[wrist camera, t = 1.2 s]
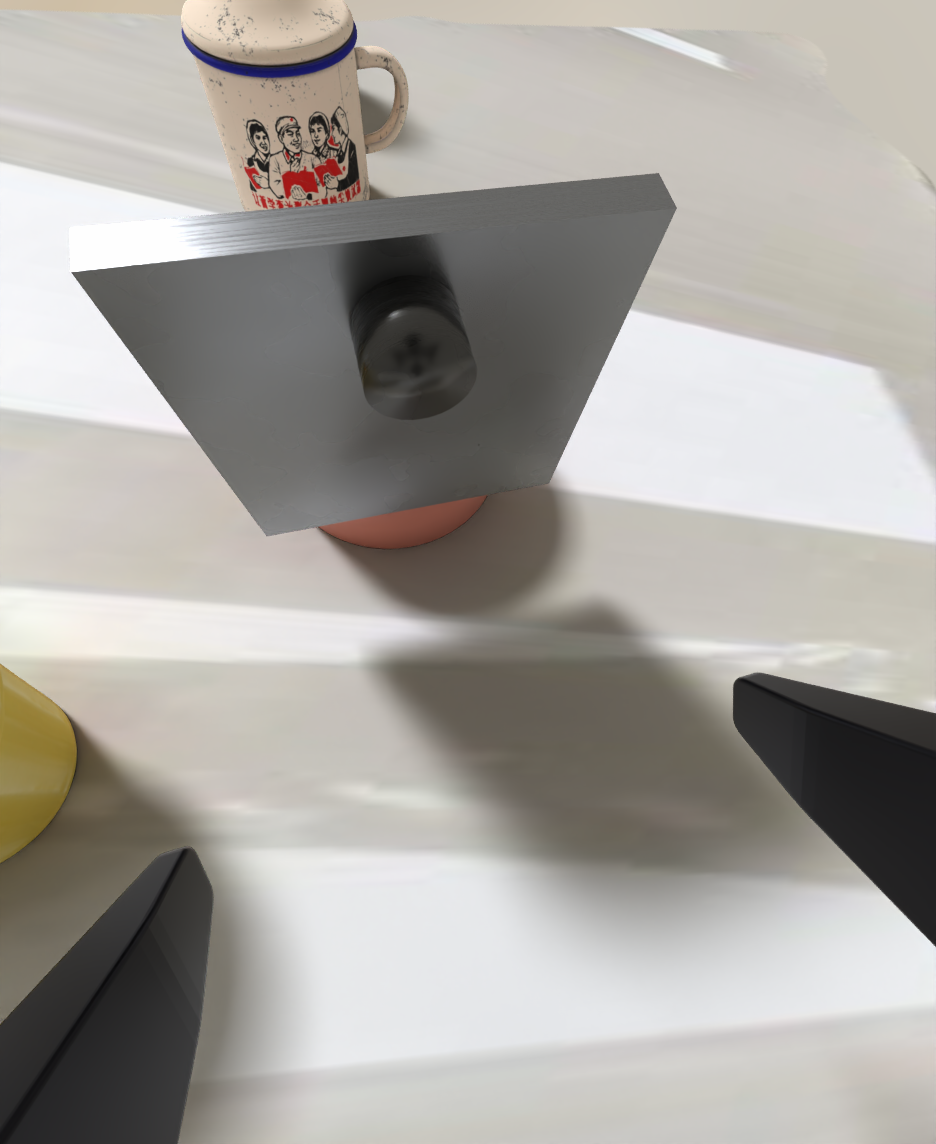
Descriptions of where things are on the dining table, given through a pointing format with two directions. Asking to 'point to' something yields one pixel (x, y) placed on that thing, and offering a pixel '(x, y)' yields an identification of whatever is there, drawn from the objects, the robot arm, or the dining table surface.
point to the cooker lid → (380, 336)
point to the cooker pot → (406, 525)
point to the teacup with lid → (290, 97)
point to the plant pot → (31, 762)
